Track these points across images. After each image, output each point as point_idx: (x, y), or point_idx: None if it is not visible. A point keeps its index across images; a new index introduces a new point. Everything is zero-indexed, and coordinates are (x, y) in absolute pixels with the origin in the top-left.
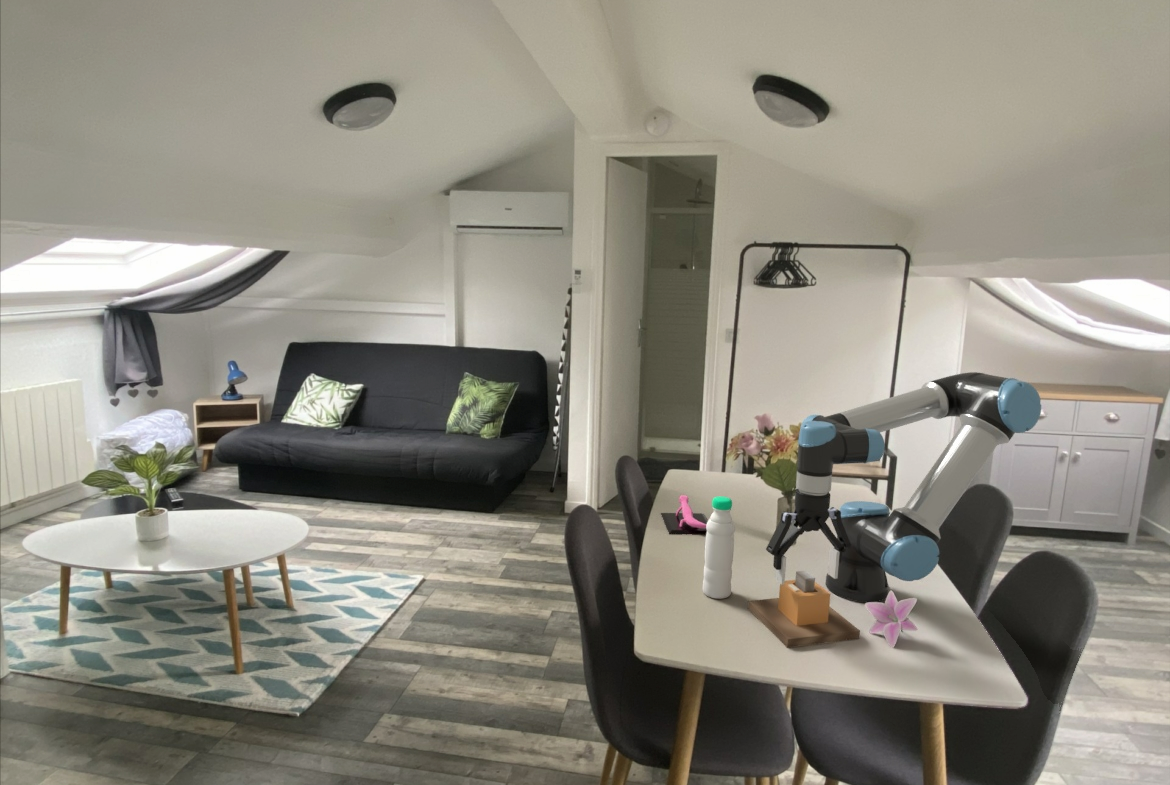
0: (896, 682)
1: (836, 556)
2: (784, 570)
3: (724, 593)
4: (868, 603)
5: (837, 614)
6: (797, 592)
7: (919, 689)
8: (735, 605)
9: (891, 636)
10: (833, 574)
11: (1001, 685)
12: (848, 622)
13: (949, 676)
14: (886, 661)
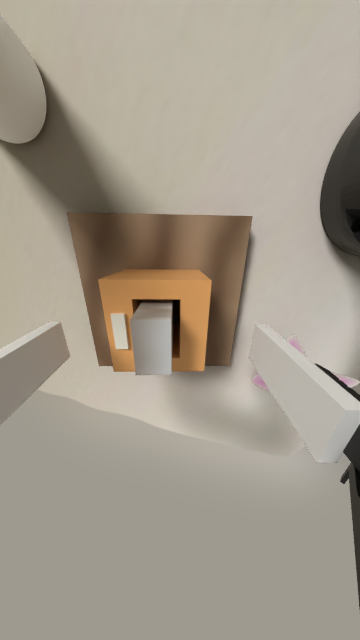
0: (198, 429)
1: (298, 434)
2: (27, 394)
3: (10, 136)
4: (297, 341)
5: (232, 314)
6: (120, 352)
7: (212, 439)
8: (52, 191)
9: (263, 381)
10: (254, 359)
11: (296, 445)
12: (230, 342)
13: (262, 430)
14: (218, 401)
